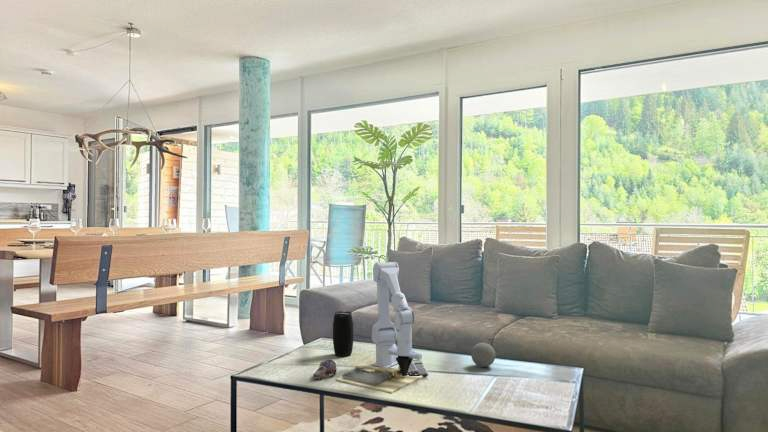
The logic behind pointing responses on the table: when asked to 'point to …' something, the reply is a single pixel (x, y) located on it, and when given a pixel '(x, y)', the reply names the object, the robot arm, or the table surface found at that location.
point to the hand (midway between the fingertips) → (404, 375)
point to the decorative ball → (483, 354)
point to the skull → (326, 369)
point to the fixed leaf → (367, 376)
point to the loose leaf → (394, 372)
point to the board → (386, 386)
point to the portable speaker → (343, 333)
